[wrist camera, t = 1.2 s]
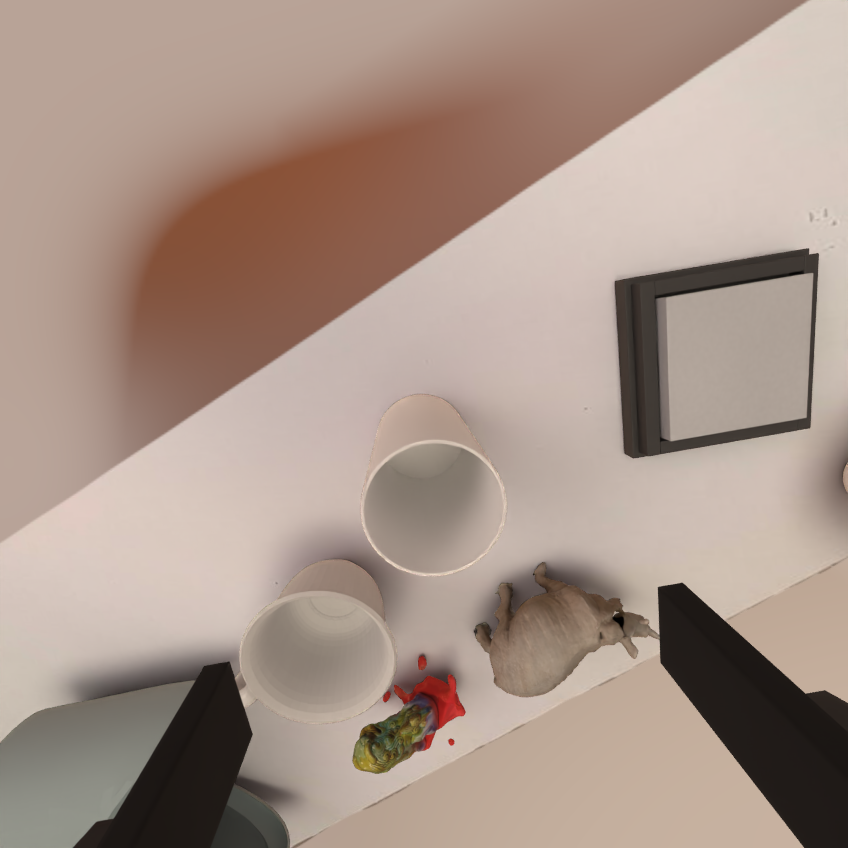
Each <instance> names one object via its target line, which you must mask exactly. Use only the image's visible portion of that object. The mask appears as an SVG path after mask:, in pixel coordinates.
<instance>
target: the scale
mask: <svg viewBox="0 0 848 848" xmlns="http://www.w3.org/2000/svg"><path fill="white" fill-rule="evenodd" d="M818 261H819V253H816V254H810V255H809V248H807V249H801V250H795V251H789V252H783V253H777V254H771V255H765V256H759V257H753V258H747V259H741V260H736V261H730V262H724V263H718V264H712V265H706V266H700V267H694V268H688V269H682V270H676V271H670V272H664V273H658V274H652V275H646V276H640V277H634V278H629V279H623V280H619V281H616V282H615V290H616V307H617V325H618V343H619V361H620V378H621V396H622V414H623V431H624V449H625V454H626V455H628V456H630V457H632V458H639V457H645V456H653V455H659V454H664V453H670V452H676V451H681V450H687V449H693V448H699V447H705V446H710V445H716V444H722V443H728V442H733V441H739V440H745V439H751V438H756V437H762V436H768V435H774V434H779V433H785V432H791V431H797V430H802V429H808V428H810V424H811V403H812V383H813V363H814V342H815V322H816V302H817V281H818ZM807 273H813V291H812V312H811V333H810V355H809V376H808V397H807V417H806V418H802V419H796V420H791V421H785V422H779V423H773V424H768V425H762V426H756V427H750V428H745V429H739V430H733V431H727V432H721V433H716V434H710V435H704V436H698V437H693V438H687V439H681V440H675V441H669V440H666V439H664V438H661V437H660V425H659V397H658V369H657V342H656V314H655V299H658V298H664V297H669V296H675V295H681V294H687V293H693V292H699V291H705V290H711V289H717V288H723V287H729V286H735V285H740V284H746V283H752V282H758V281H764V280H770V279H776V278H782V277H788V276H794V275H800V274H807Z"/></svg>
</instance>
